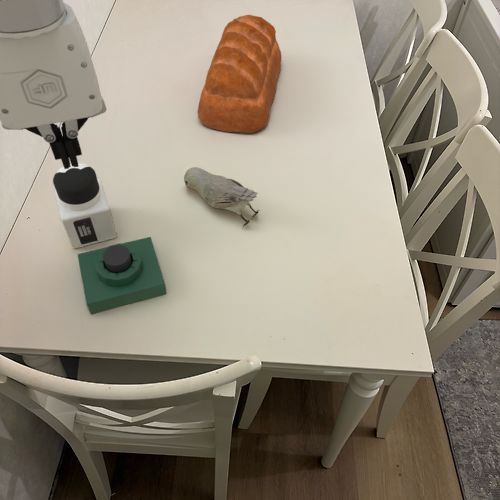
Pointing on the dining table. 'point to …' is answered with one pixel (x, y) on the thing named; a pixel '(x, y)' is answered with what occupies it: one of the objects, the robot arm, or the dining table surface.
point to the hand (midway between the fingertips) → (70, 160)
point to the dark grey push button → (117, 258)
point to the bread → (241, 77)
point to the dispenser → (121, 277)
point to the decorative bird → (220, 191)
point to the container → (83, 206)
